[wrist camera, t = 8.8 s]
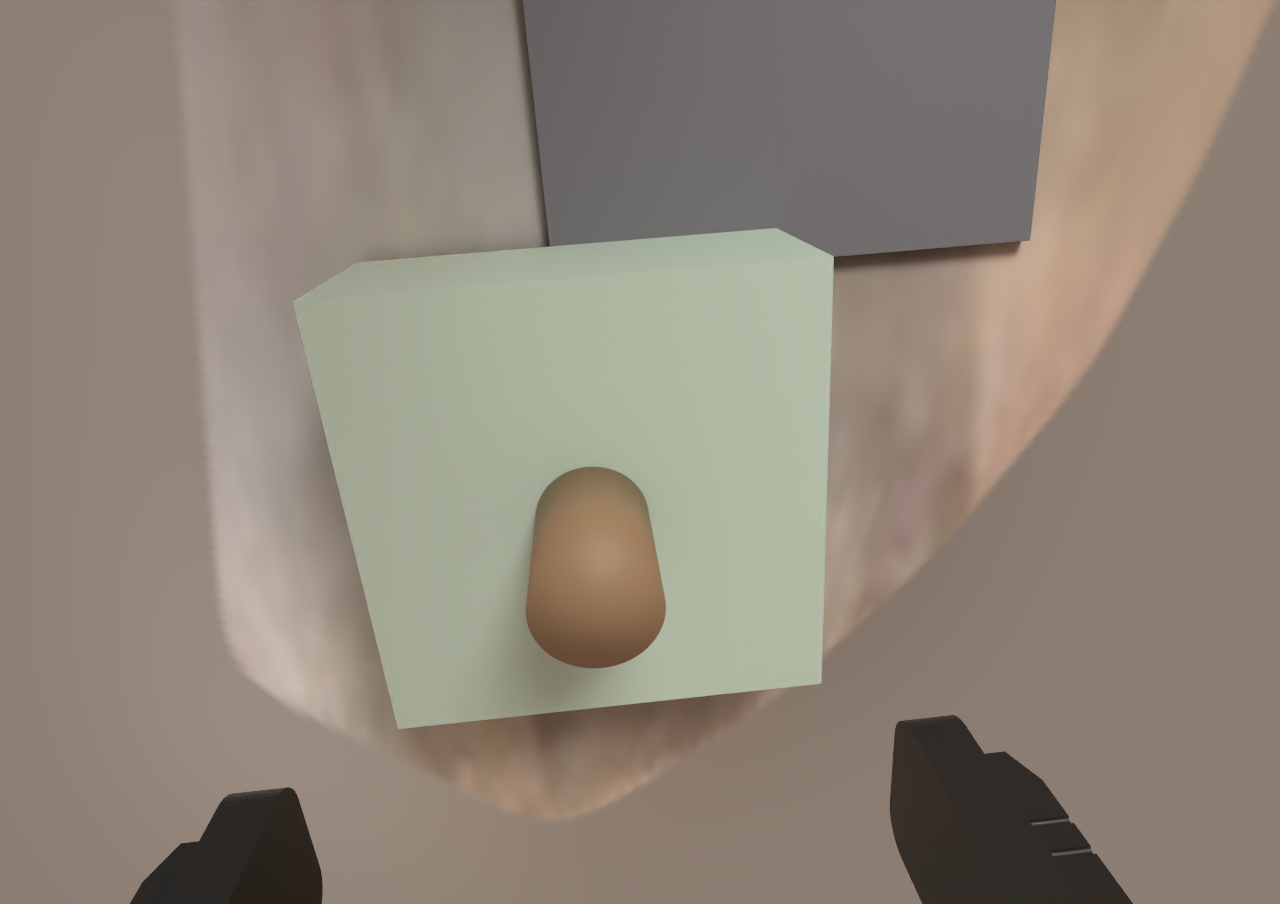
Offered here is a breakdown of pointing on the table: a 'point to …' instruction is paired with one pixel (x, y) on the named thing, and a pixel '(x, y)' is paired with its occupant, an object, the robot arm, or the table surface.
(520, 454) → the cover
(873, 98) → the mat
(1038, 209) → the table surface
